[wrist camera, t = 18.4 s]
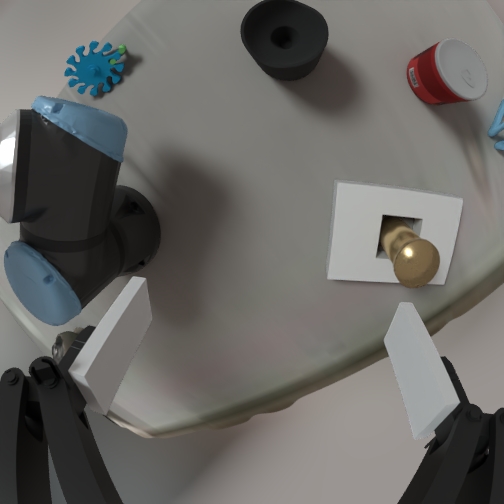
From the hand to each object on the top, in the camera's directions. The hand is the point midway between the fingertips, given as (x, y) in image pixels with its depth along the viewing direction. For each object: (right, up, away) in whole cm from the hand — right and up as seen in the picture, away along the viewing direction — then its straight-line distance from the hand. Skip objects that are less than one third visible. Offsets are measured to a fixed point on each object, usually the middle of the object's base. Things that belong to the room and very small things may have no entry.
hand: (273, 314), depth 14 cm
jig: (+20, +6, +26) cm, 34 cm away
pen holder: (+4, +30, +19) cm, 36 cm away
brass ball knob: (+20, +6, +26) cm, 33 cm away
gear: (-24, +33, +22) cm, 47 cm away
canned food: (+25, +28, +17) cm, 41 cm away
